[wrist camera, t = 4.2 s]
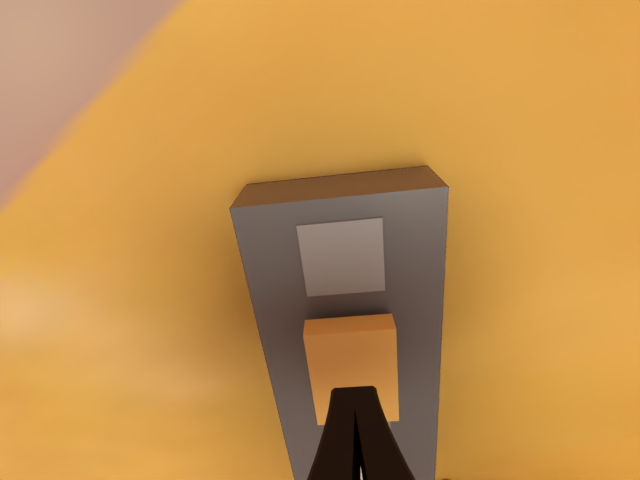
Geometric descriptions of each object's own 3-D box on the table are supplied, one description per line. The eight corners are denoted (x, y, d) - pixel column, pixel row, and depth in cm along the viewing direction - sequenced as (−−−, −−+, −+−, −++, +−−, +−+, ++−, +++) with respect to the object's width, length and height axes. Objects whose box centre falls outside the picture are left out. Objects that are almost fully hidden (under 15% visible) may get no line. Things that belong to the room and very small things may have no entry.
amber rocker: (395, 402, 16) (399, 421, 15) (318, 406, 17) (317, 425, 16) (392, 313, 14) (396, 328, 13) (304, 320, 15) (303, 335, 14)
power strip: (422, 457, 24) (434, 509, 21) (305, 462, 24) (301, 513, 22) (427, 165, 15) (450, 187, 12) (246, 184, 16) (228, 209, 13)
